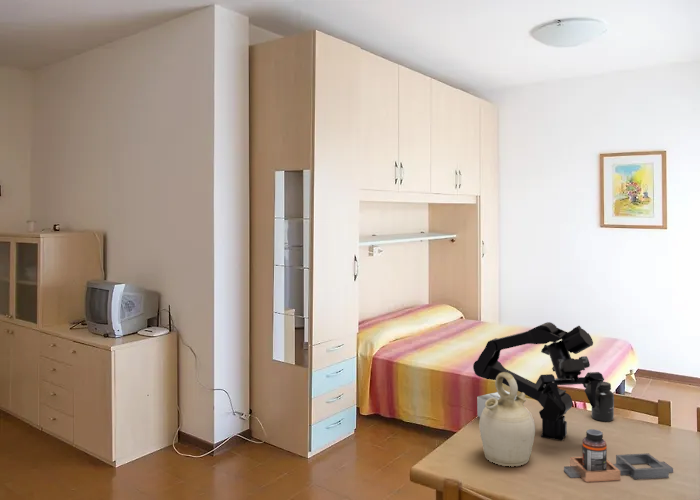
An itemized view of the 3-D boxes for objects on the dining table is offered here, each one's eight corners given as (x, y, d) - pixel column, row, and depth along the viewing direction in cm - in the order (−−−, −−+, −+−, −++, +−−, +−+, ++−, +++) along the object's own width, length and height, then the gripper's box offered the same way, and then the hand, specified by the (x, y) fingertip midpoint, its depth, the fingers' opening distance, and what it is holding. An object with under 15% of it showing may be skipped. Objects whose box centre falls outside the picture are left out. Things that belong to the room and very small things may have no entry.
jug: (492, 472, 154) (492, 382, 152) (471, 449, 169) (470, 366, 167) (545, 467, 156) (545, 378, 154) (519, 444, 171) (519, 363, 169)
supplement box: (520, 395, 193) (491, 402, 187) (520, 416, 193) (491, 424, 188) (505, 389, 199) (476, 395, 194) (505, 410, 200) (476, 416, 194)
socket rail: (574, 482, 147) (574, 473, 147) (559, 466, 156) (559, 457, 156) (679, 477, 149) (679, 467, 148) (658, 461, 158) (658, 452, 158)
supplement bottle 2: (582, 466, 156) (582, 426, 155) (605, 469, 154) (606, 428, 153) (582, 476, 151) (582, 434, 150) (606, 479, 148) (607, 437, 147)
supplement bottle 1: (616, 422, 186) (616, 386, 186) (593, 421, 188) (594, 386, 187) (610, 415, 193) (611, 380, 192) (589, 414, 194) (589, 379, 194)
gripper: (539, 347, 166) (555, 397, 155) (601, 345, 167) (621, 394, 157) (528, 367, 174) (543, 415, 164) (587, 364, 175) (606, 411, 165)
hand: (578, 408), depth 162 cm, fingers open, 9 cm apart
